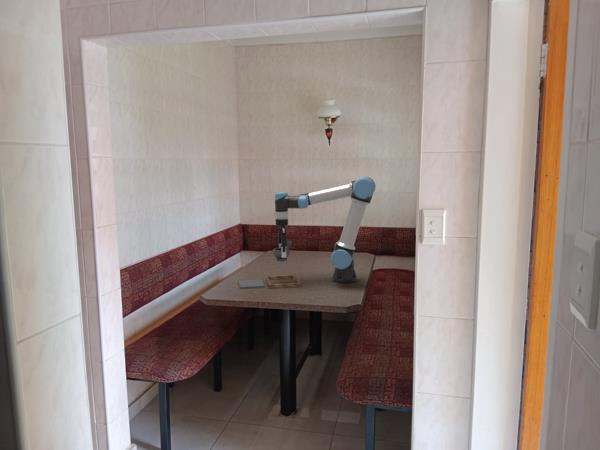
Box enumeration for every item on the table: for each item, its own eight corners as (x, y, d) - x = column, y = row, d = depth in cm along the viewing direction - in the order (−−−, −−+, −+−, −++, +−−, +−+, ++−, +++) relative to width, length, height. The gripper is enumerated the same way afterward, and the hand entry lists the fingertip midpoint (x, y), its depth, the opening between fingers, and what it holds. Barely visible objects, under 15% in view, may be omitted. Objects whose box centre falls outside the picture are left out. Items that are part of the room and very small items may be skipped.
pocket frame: (295, 277, 289) (295, 274, 289) (301, 286, 268) (301, 283, 267) (265, 279, 286) (264, 276, 286) (269, 288, 264) (269, 285, 264)
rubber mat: (261, 280, 282) (261, 279, 282) (264, 287, 267) (264, 285, 267) (238, 282, 280) (238, 280, 280) (239, 288, 264) (239, 287, 264)
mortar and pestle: (272, 262, 270) (272, 241, 269) (274, 259, 280) (273, 239, 278) (291, 261, 270) (291, 241, 269) (292, 258, 279) (292, 239, 278)
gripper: (273, 217, 282) (274, 252, 285) (278, 220, 260) (279, 259, 263) (285, 216, 284) (286, 252, 286) (291, 220, 262) (292, 259, 264)
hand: (282, 255), depth 275 cm, fingers closed on mortar and pestle, 10 cm apart
